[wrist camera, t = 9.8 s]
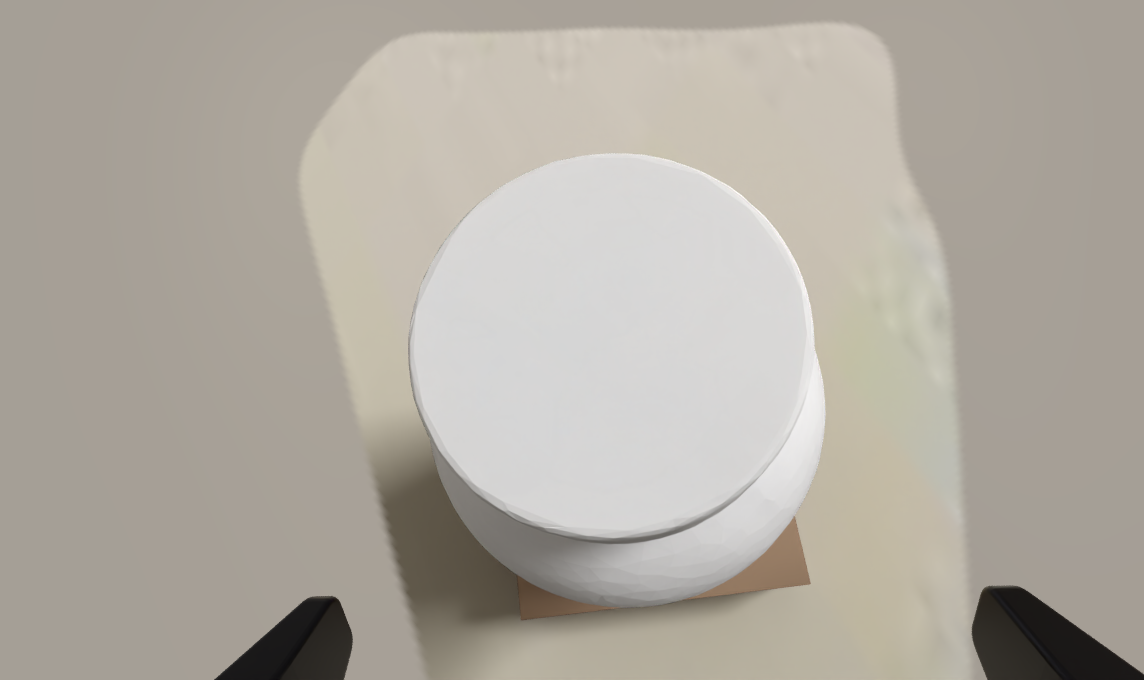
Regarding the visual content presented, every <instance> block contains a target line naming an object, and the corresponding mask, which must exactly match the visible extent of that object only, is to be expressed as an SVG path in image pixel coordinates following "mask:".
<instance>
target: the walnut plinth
mask: <svg viewBox="0 0 1144 680" xmlns="http://www.w3.org/2000/svg"><path fill="white" fill-rule="evenodd" d="M517 582H518V593H519V605H520V616H521V620H527V619H535V618H543V617H551V616H559V615H567V614H575V613H583V612H591V611H599V610H607V609H615V608H619V607H606V606H599V605H592V604H587V603H581V602H577V601H574V600H570V599H567V598H564V597H561V596H558V595H555V594H553V593H550V592H548V591H546V590H543V589H541V588H539V587H537V586H535V585H533V584H531V583H529V582H528V581H526V580H525V579H523V578H522V577H520V576H518V575H517ZM808 584H811V583H810V579H809V575H808V571H807V566H806V562H805V558H804V554H803V549H802V545H801V541H800V537H799V533H798V528H797V524H796V520H795V516H794V517H793V519H792V520H791V522H790V523H789V525H788V526H787V527H786V528H785V529H784V531H783V532H782V533H781V534H780V536H779V537H778V538H777V539H776V540H775V542H774V543H773V544H772V545H771V546H770V547H769V549H768V550H767V551H766V552H765V553H764V554H762V555H761V556H760V557H759V558H758V559H757V560H755V561H754V562H753V563H752V564H751V565H750V566H748V567H747V568H746V569H744V570H743V571H742V572H740V573H739V574H737V575H736V576H734V577H733V578H731V579H729V580H727V581H726V582H724V583H722V584H720V585H718V586H716V587H714V588H713V589H711V590H709V591H706V592H704V593H702V594H700V595H697V596H694V597H690V598H687V599H684V600H688V599H696V598H704V597H712V596H720V595H728V594H736V593H744V592H752V591H760V590H768V589H776V588H784V587H792V586H800V585H808Z"/></svg>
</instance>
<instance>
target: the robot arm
mask: <svg viewBox="0 0 1144 680" xmlns="http://www.w3.org/2000/svg"><path fill="white" fill-rule="evenodd" d="M972 638H973V643H974V646H975V649H976V652H977V654H978V657H979V659H980V662H981V664H982V667H983V670H984V672H985V675H986V677H987V680H1144V674H1143V673H1141V672H1140V671H1138V670H1137V669H1136V668H1134V667H1133V666H1132V665H1130V664H1129V663H1127V662H1126V661H1125V660H1123V659H1122V658H1120V657H1119V656H1117V655H1116V654H1115V653H1113V652H1112V651H1110V650H1109V649H1108V648H1106V647H1105V646H1104V645H1102V644H1100V643H1099V642H1098V641H1097V640H1095V639H1094V638H1092V637H1091V636H1090V635H1088V634H1087V633H1085V632H1084V631H1082V630H1081V629H1080V628H1078V627H1077V626H1076V625H1074V624H1073V623H1071V622H1070V621H1069V620H1067V619H1066V618H1064V617H1063V616H1062V615H1060V614H1059V613H1057V612H1056V611H1054V610H1053V609H1052V608H1050V607H1049V606H1048V605H1046V604H1045V603H1043V602H1042V601H1041V600H1039V599H1038V598H1036V597H1035V596H1034V595H1032V594H1031V593H1029V592H1028V591H1026V590H1025V589H1023V588H1021V587H1018V586H988V587H985V588H984V589H983V590H982V592H981V595H980V599H979V602H978V606H977V610H976V614H975V617H974V621H973V625H972ZM352 640H353V639H352V632H351V629H350V627H349V624H348V622H347V619H346V616H345V614H344V611H343V608H342V606H341V603H340V601H339V600H338V599H337V598H336V597H333V596H321V597H320V596H319V597H318V596H317V597H310V598H308V599H306V600H305V601H303V602H302V603H301V604H300V605H299V606H298V607H296V608H295V609H294V610H293V611H292V612H291V613H290V614H288V615H287V616H286V617H285V618H284V619H283V620H282V621H280V622H279V623H278V624H277V625H276V626H275V627H274V628H273V629H271V630H270V631H269V632H268V633H267V634H266V635H265V636H263V637H262V638H261V639H260V640H259V641H258V642H257V643H255V644H254V645H253V646H252V647H251V648H250V649H249V650H248V651H246V652H245V653H244V654H243V655H242V656H241V657H239V658H238V659H237V660H236V661H235V662H234V663H233V664H232V665H230V666H229V667H228V668H227V669H226V670H225V671H224V672H222V673H221V674H220V675H219V676H218V677H217V678H216V679H214V680H344V677H345V673H346V670H347V666H348V662H349V658H350V654H351V650H352V642H353V641H352Z"/></svg>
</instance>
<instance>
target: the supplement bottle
mask: <svg viewBox="0 0 1144 680" xmlns="http://www.w3.org/2000/svg"><path fill="white" fill-rule="evenodd" d="M814 346H815V345H814V328H813V319H812V312H811V306H810V302H809V298H808V294H807V290H806V287H805V284H804V281H803V278H802V275H801V273H800V270H799V268H798V265H797V264H796V262H795V260H794V258H793V256H792V254H791V252H790V250H789V249H788V247H787V246H786V244H785V242H784V241H783V239H782V238H781V236H780V235H779V233H778V232H777V230H776V229H775V228H774V227H773V226H772V224H771V223H770V222H769V221H768V220H767V218H766V217H765V216H764V215H763V214H762V213H761V212H759V211H758V210H757V209H756V208H755V207H754V206H753V205H752V204H751V203H749V202H748V201H747V200H746V199H745V198H744V197H743V196H742V195H740V194H739V193H738V192H736V191H735V190H734V189H732V188H731V187H730V186H728V185H726V184H724V183H722V182H721V181H719V180H717V179H715V178H713V177H711V176H709V175H708V174H706V173H704V172H701V171H699V170H696V169H694V168H691V167H689V166H686V165H683V164H680V163H677V162H674V161H671V160H668V159H663V158H658V157H654V156H649V155H640V154H624V153H608V154H594V155H585V156H579V157H574V158H569V159H564V160H559V161H555V162H552V163H549V164H546V165H544V166H541V167H539V168H537V169H534V170H532V171H529V172H527V173H524V174H523V175H521V176H519V177H517V178H515V179H513V180H512V181H510V182H508V183H506V184H504V185H503V186H501V187H500V188H498V189H497V190H496V191H494V192H493V193H492V194H490V195H489V196H488V197H486V198H485V199H484V200H482V201H481V202H480V203H479V204H477V205H476V206H475V207H474V208H473V209H472V210H471V211H470V212H468V213H467V215H466V216H465V217H464V218H463V219H462V220H461V221H460V222H459V223H458V225H457V226H456V227H455V228H454V229H453V230H452V231H451V233H450V234H449V236H448V237H447V238H446V240H445V241H444V242H443V244H442V245H441V247H440V248H439V250H438V252H437V254H436V256H435V258H434V259H433V261H432V263H431V265H430V267H429V269H428V271H427V272H426V274H425V276H424V278H423V281H422V284H421V286H420V289H419V292H418V295H417V298H416V301H415V304H414V308H413V313H412V318H411V323H410V330H409V343H408V355H409V370H410V379H411V386H412V391H413V397H414V400H415V403H416V406H417V409H418V412H419V415H420V417H421V420H422V422H423V425H424V427H425V429H426V432H427V434H428V436H429V438H430V442H431V447H432V452H433V456H434V460H435V464H436V466H437V469H438V473H439V476H440V479H441V482H442V484H443V486H444V488H445V490H446V492H447V495H448V497H449V499H450V501H451V503H452V505H453V507H454V508H455V510H456V512H457V513H458V515H459V517H460V518H461V520H462V521H463V522H464V524H465V525H466V527H467V528H468V530H469V531H470V532H471V533H472V534H473V536H474V537H475V538H476V539H477V540H478V542H479V543H480V544H481V545H482V546H483V547H484V548H485V549H486V550H487V551H488V552H489V553H490V554H491V555H492V556H494V557H495V558H496V559H497V560H498V561H499V562H501V563H502V564H503V565H504V566H506V567H507V568H508V569H510V570H511V571H512V572H514V573H515V574H517V575H518V576H520V577H522V578H523V579H525V580H526V581H528V582H529V583H531V584H533V585H535V586H537V587H539V588H541V589H543V590H546V591H548V592H550V593H553V594H555V595H558V596H561V597H564V598H567V599H570V600H574V601H577V602H581V603H587V604H592V605H599V606H606V607H619V608H633V607H648V606H658V605H663V604H668V603H673V602H676V601H680V600H684V599H687V598H690V597H694V596H697V595H700V594H702V593H704V592H706V591H709V590H711V589H713V588H714V587H716V586H718V585H720V584H722V583H724V582H726V581H727V580H729V579H731V578H733V577H734V576H736V575H737V574H739V573H740V572H742V571H743V570H744V569H746V568H747V567H748V566H750V565H751V564H752V563H753V562H754V561H755V560H757V559H758V558H759V557H760V556H761V555H762V554H764V553H765V552H766V551H767V550H768V549H769V547H770V546H771V545H772V544H773V543H774V542H775V540H776V539H777V538H778V537H779V536H780V534H781V533H782V532H783V531H784V529H785V528H786V527H787V526H788V525H789V523H790V522H791V520H792V519H793V517H794V516H795V514H796V513H797V511H798V510H799V508H800V506H801V504H802V502H803V500H804V498H805V496H806V494H807V492H808V490H809V488H810V485H811V483H812V480H813V478H814V475H815V473H816V470H817V467H818V463H819V460H820V454H821V449H822V443H823V437H824V427H825V398H824V387H823V380H822V375H821V371H820V366H819V362H818V358H817V355H816V352H815V349H814Z"/></svg>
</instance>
